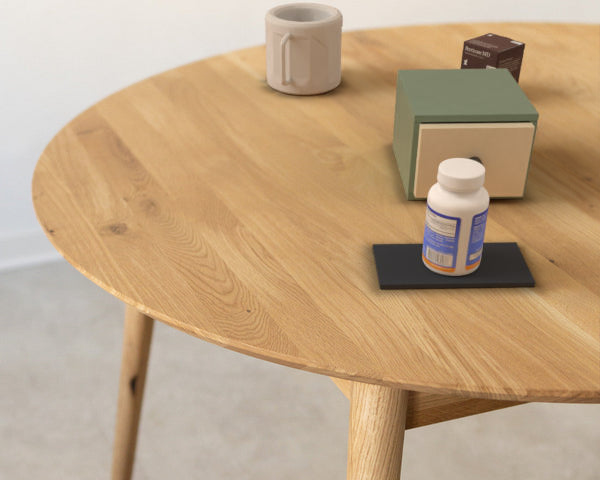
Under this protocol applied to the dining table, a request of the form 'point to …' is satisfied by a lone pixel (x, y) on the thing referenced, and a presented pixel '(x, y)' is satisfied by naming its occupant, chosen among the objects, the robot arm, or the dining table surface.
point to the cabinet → (453, 108)
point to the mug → (303, 48)
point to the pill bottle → (456, 218)
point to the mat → (414, 274)
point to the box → (493, 54)
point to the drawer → (476, 153)
